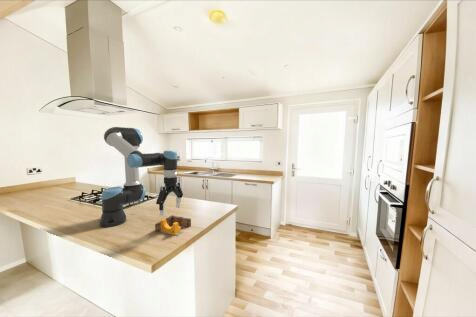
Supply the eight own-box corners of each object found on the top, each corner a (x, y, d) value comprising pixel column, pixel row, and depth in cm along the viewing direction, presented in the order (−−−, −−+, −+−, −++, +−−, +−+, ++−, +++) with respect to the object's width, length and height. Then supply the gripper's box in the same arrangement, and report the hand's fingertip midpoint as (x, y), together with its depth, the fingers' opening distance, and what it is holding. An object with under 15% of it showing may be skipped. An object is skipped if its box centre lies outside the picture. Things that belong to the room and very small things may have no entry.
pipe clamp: (180, 231, 113) (180, 221, 112) (175, 235, 109) (175, 224, 109) (166, 227, 118) (166, 217, 118) (160, 230, 114) (160, 220, 114)
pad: (160, 231, 113) (160, 231, 113) (166, 228, 118) (166, 227, 118) (177, 235, 109) (177, 235, 109) (183, 232, 113) (183, 231, 113)
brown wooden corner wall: (155, 231, 114) (155, 223, 113) (172, 222, 127) (172, 215, 127) (175, 236, 108) (175, 228, 108) (191, 226, 122) (190, 218, 121)
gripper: (159, 181, 98) (159, 220, 100) (188, 174, 121) (188, 205, 123) (148, 179, 101) (149, 217, 103) (179, 173, 124) (179, 204, 126)
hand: (170, 211), depth 113 cm, fingers open, 13 cm apart
